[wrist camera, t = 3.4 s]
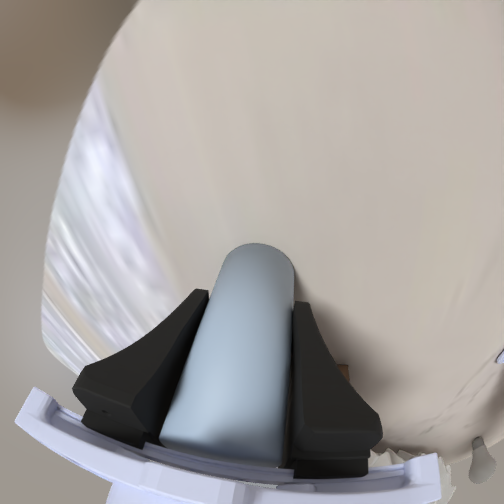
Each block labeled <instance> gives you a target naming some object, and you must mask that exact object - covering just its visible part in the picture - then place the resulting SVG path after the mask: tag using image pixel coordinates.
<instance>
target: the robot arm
mask: <svg viewBox="0 0 504 504" xmlns="http://www.w3.org/2000/svg"><path fill="white" fill-rule="evenodd" d="M208 301H209V293H208V290H202V289H195V290H194V291H193V292H192V293H191V294H190V295H189V296H188V297H187V298H186V299H185V300H184V301H183V302H182V303H181V304H180V305H179V306H178V307H177V308H176V309H175V310H174V311H173V312H172V313H171V314H170V315H169V316H168V317H167V318H166V319H165V320H163V321H162V322H161V323H160V324H159V325H158V326H156V327H155V328H154V329H153V330H152V331H150V332H149V333H148V334H146V335H145V336H144V337H142V338H141V339H139V340H138V341H136V342H135V343H133V344H132V345H130V346H128V347H127V348H125V349H123V350H121V351H119V352H117V353H116V354H114V355H112V356H109V357H107V358H105V359H103V360H100V361H98V362H95V363H92V364H90V365H87V366H85V367H84V368H83V370H82V371H81V373H80V375H79V377H78V378H77V380H76V382H75V384H74V386H73V388H72V389H73V393H74V394H75V396H76V397H77V398H78V400H79V401H80V402H81V403H82V404H83V405H84V406H85V408H86V409H87V410H86V412H85V414H84V416H83V417H82V416H80V415H78V414H76V413H74V412H72V411H70V410H68V409H67V408H65V407H62V406H61V405H59V404H58V402H57V401H56V400H55V399H54V398H53V397H51V396H50V395H49V394H47V393H45V392H44V391H42V390H40V389H39V388H37V387H33V389H32V391H31V393H30V394H29V396H28V398H27V400H26V401H25V403H24V405H23V407H22V409H21V410H20V412H19V414H18V416H17V418H16V420H15V423H16V424H17V425H18V426H20V427H21V428H22V429H23V430H25V431H26V432H27V433H28V434H30V435H31V436H32V437H34V438H35V439H36V440H38V441H39V442H40V443H42V444H43V445H45V446H46V447H48V448H49V449H51V450H53V451H54V452H56V453H57V454H59V455H61V456H62V457H64V458H66V459H67V460H69V461H71V462H73V463H74V464H76V465H78V466H80V467H82V468H83V469H86V470H87V471H89V472H91V473H93V474H95V475H97V476H99V477H101V478H103V479H105V480H108V481H110V482H112V483H113V484H112V487H111V489H110V492H109V495H108V498H107V501H106V504H428V503H431V502H434V501H437V500H439V499H441V498H442V495H441V482H440V472H439V464H438V456H437V453H431V454H426V455H421V456H417V457H413V458H411V459H409V460H407V461H406V462H405V463H401V464H395V465H388V466H379V467H370V468H368V458H370V456H371V453H370V449H371V448H372V447H374V446H375V445H376V444H377V443H379V441H380V440H381V439H382V438H383V432H382V425H381V421H380V418H379V415H378V414H377V413H376V412H375V411H374V410H373V409H372V408H371V407H370V406H369V405H368V404H367V403H366V402H365V401H364V400H363V399H362V398H361V397H360V395H359V394H358V393H357V392H356V391H355V389H354V388H353V387H352V386H351V384H350V383H349V382H348V381H347V379H346V378H345V377H344V375H343V374H342V372H341V371H340V369H339V368H338V366H337V365H336V363H335V361H334V360H333V358H332V356H331V354H330V353H329V351H328V349H327V347H326V345H325V343H324V341H323V339H322V336H321V334H320V332H319V330H318V327H317V325H316V322H315V319H314V317H313V314H312V310H311V307H310V304H309V303H308V302H299V301H295V304H294V309H293V322H292V345H291V362H290V378H289V392H288V404H287V416H286V427H285V438H284V448H283V457H282V464H281V465H280V466H279V467H278V468H268V467H258V466H250V465H243V464H236V463H230V462H224V461H218V460H213V459H208V458H203V457H199V456H194V455H190V454H186V453H182V452H178V451H174V450H171V449H168V448H166V447H165V446H164V445H163V444H162V443H161V442H160V440H159V436H160V433H161V430H162V427H163V425H164V422H165V419H166V416H167V413H168V410H169V407H170V405H171V402H172V399H173V396H174V393H175V390H176V388H177V385H178V382H179V379H180V377H181V374H182V371H183V368H184V365H185V363H186V360H187V357H188V355H189V352H190V349H191V346H192V344H193V341H194V338H195V336H196V333H197V330H198V328H199V325H200V322H201V320H202V317H203V314H204V312H205V309H206V306H207V304H208ZM497 363H498V364H501V363H504V351H503V352H502V354H501V355H500V356H499V357H498V359H497ZM148 459H150V460H153V461H156V462H152V461H150V460H148ZM157 462H159V463H157ZM161 463H162V464H161ZM168 465H169V466H168ZM175 467H176V468H175ZM179 468H180V469H179ZM195 472H196V473H195ZM199 473H200V474H199ZM204 474H205V475H204ZM208 475H209V476H208ZM213 476H214V477H213ZM219 477H220V478H219ZM224 478H225V479H224ZM229 479H231V480H229ZM234 480H238V481H246V482H253V483H263V484H273V485H278V486H277V487H276V489H273V488H266V487H260V486H253V485H248V484H244V483H241V482H237V481H234Z"/></svg>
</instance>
